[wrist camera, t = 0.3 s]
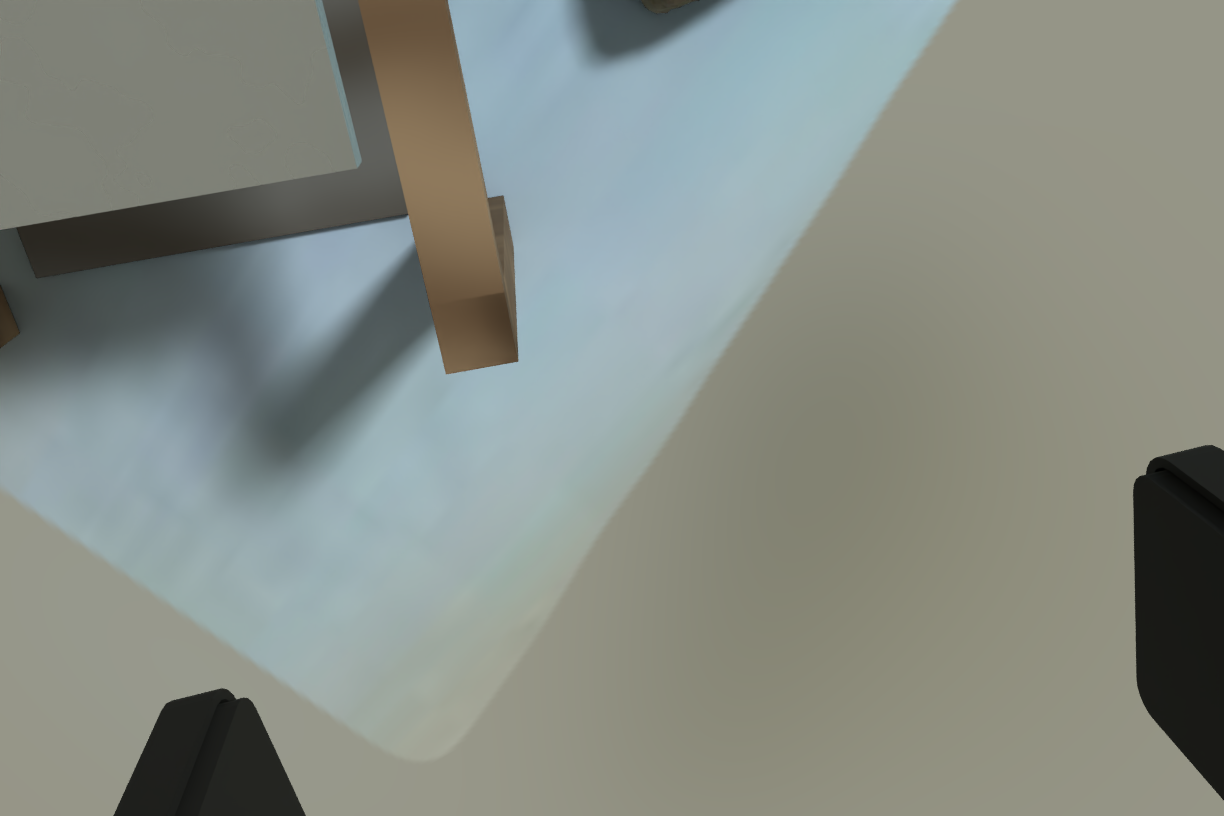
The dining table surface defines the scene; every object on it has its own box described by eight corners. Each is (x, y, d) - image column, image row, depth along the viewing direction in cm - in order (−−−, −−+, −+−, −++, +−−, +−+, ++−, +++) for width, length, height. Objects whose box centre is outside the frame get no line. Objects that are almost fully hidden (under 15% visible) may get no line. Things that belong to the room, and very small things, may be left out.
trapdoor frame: (-292, -255, 31) (-753, -382, 20) (393, -363, 32) (333, -547, 20) (-33, 342, 39) (-256, 499, 28) (513, 246, 40) (518, 361, 28)
